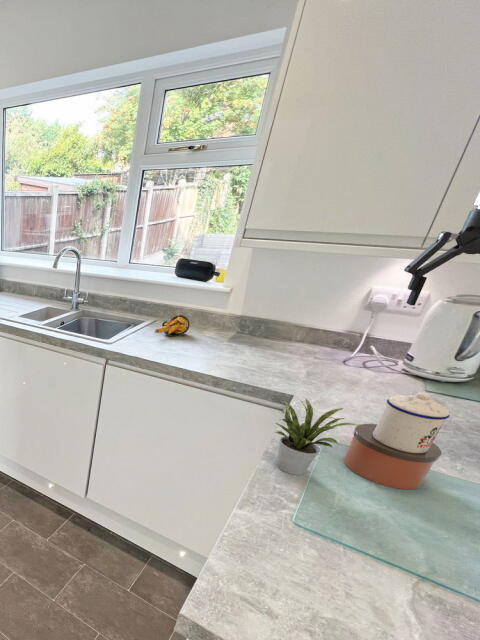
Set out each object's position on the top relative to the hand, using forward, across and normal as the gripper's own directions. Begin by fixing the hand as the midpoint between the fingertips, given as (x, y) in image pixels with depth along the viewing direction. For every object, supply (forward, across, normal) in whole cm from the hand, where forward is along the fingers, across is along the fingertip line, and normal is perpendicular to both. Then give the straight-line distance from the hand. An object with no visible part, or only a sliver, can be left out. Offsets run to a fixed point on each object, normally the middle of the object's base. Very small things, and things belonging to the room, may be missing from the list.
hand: (449, 307), depth 96 cm
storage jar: (+33, +8, +25) cm, 42 cm away
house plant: (+33, +24, +34) cm, 53 cm away
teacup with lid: (+25, +7, +26) cm, 36 cm away
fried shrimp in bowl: (+31, +59, -57) cm, 88 cm away
